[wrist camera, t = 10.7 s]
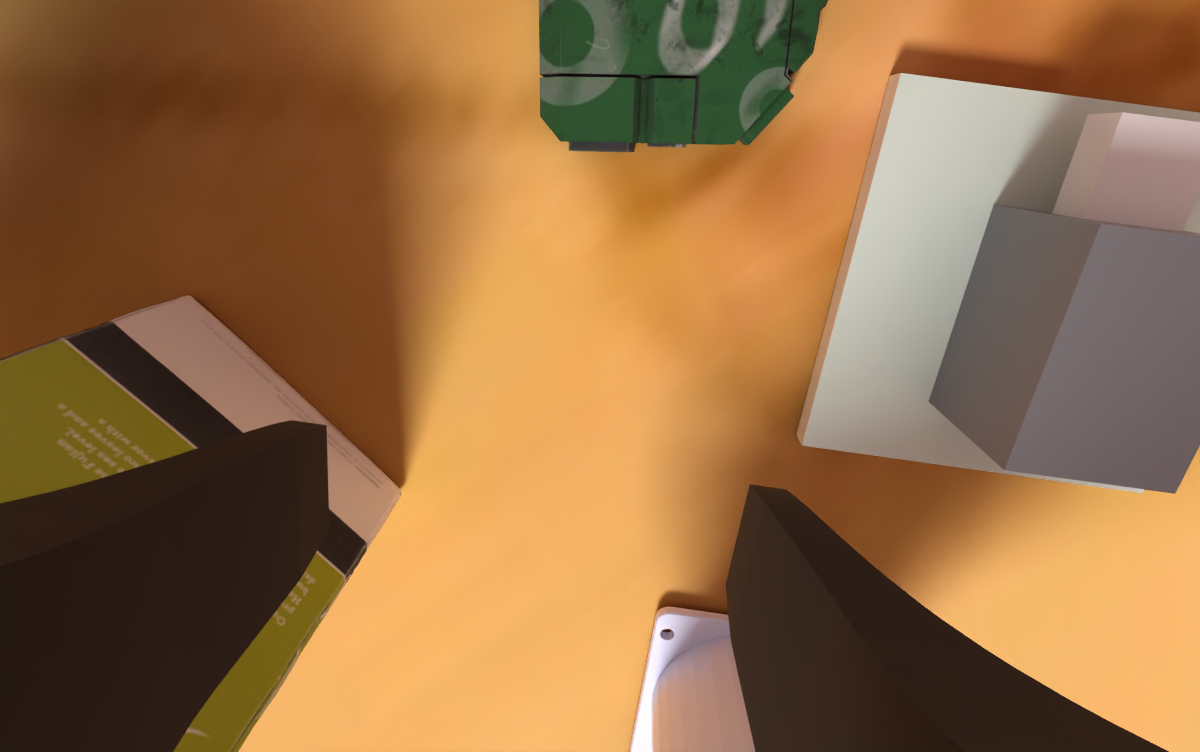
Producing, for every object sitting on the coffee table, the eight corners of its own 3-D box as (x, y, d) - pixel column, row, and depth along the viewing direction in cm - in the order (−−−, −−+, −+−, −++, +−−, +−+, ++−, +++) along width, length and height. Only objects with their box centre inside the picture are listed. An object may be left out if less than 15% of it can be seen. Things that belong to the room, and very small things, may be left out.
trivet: (1124, 480, 21) (1142, 493, 20) (796, 434, 21) (801, 445, 21) (1292, 129, 17) (1321, 128, 17) (889, 75, 17) (900, 72, 17)
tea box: (181, 685, 27) (-300, 1254, 13) (-27, 528, 25) (-867, 1017, 11) (418, 487, 23) (82, 1012, 9) (195, 279, 21) (-698, 556, 7)
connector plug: (1063, 419, 20) (1175, 493, 16) (928, 402, 20) (1004, 470, 16) (1183, 132, 17) (1359, 129, 13) (1024, 111, 17) (1148, 102, 13)
